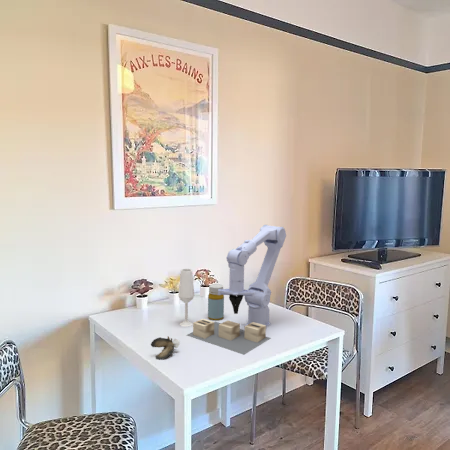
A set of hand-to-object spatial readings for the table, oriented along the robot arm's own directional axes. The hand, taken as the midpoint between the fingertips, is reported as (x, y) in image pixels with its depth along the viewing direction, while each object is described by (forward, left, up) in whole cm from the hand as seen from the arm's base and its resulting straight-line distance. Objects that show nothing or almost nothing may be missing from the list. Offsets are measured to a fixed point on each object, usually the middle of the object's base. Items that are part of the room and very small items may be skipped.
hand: (236, 313), depth 167 cm
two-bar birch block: (+8, -10, -9) cm, 16 cm away
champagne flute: (+4, -23, -10) cm, 25 cm away
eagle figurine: (+30, -10, -10) cm, 33 cm away
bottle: (-10, -18, -10) cm, 23 cm away
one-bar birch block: (-2, +8, -9) cm, 12 cm away
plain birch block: (+3, -1, -9) cm, 10 cm away
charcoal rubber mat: (+4, -1, -9) cm, 10 cm away
